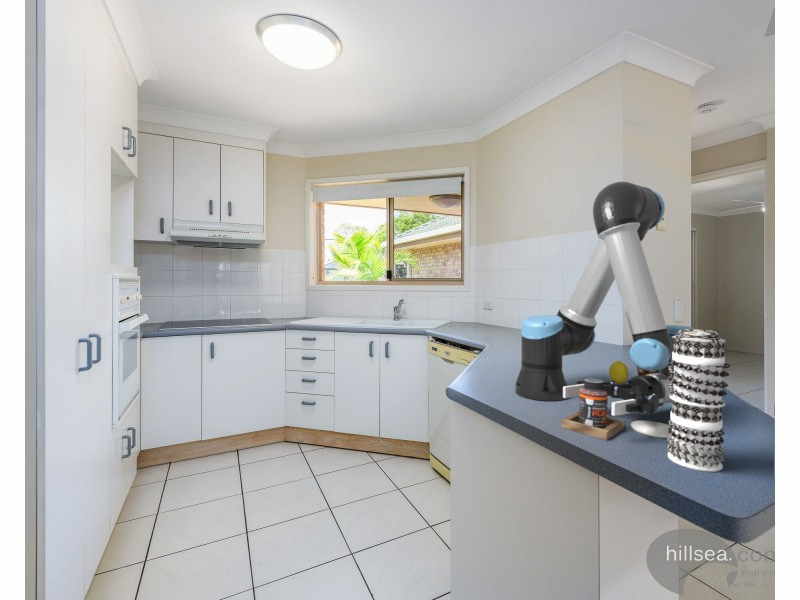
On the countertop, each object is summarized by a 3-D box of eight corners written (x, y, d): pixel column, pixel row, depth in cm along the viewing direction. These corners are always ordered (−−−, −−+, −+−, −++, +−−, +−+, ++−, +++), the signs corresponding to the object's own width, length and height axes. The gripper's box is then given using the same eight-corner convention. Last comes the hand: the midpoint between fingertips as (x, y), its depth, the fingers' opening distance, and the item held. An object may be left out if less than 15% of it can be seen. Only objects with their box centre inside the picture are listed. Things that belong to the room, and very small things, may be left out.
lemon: (630, 387, 126) (631, 362, 125) (611, 386, 127) (612, 362, 126) (624, 383, 131) (625, 359, 131) (606, 382, 132) (607, 358, 132)
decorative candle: (723, 478, 68) (729, 335, 67) (660, 461, 75) (664, 330, 73) (727, 460, 75) (732, 330, 74) (669, 446, 81) (673, 326, 80)
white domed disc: (625, 429, 90) (625, 427, 90) (638, 420, 96) (638, 417, 96) (671, 441, 84) (671, 438, 84) (682, 430, 90) (682, 428, 90)
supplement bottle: (594, 434, 88) (595, 384, 87) (572, 425, 93) (573, 378, 93) (612, 430, 90) (614, 381, 89) (590, 422, 96) (591, 376, 95)
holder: (561, 427, 92) (561, 419, 92) (580, 417, 99) (580, 410, 99) (606, 440, 85) (606, 432, 84) (623, 428, 91) (623, 420, 91)
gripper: (704, 421, 87) (637, 436, 79) (606, 391, 110) (547, 400, 102) (705, 387, 86) (638, 399, 78) (607, 365, 109) (547, 372, 101)
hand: (586, 400), depth 90 cm, fingers open, 13 cm apart
